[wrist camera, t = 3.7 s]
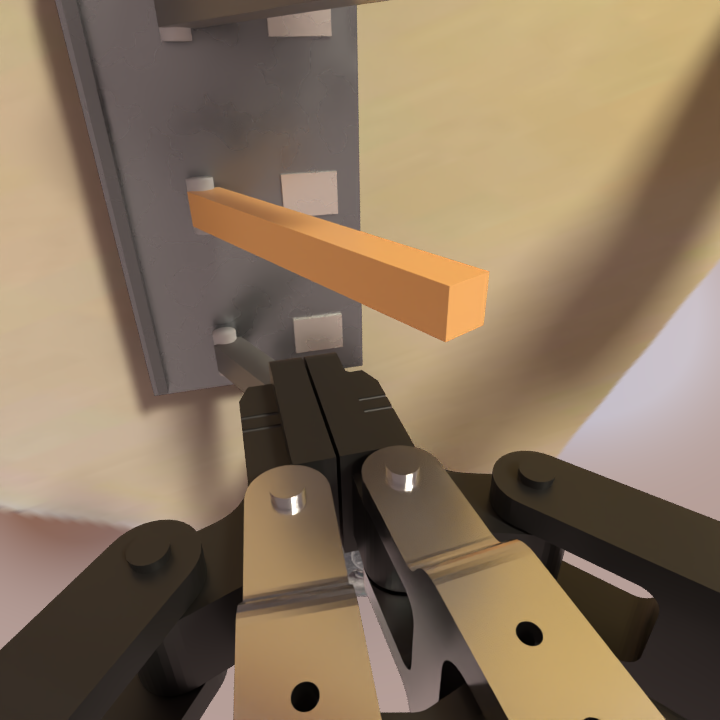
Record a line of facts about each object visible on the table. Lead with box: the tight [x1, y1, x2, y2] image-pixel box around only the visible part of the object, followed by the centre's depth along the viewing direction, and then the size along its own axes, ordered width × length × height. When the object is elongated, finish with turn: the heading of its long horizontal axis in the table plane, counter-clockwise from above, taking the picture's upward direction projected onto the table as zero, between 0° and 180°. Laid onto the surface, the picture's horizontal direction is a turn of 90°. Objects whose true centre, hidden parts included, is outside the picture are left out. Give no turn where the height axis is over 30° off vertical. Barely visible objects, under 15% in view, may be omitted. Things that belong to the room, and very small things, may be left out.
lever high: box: [212, 327, 275, 393], centre depth 27 cm, size 2×3×19 cm, turn 2°
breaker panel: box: [55, 0, 362, 396], centre depth 30 cm, size 14×24×4 cm, turn 1°
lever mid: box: [185, 176, 489, 342], centre depth 22 cm, size 2×3×19 cm, turn 2°
